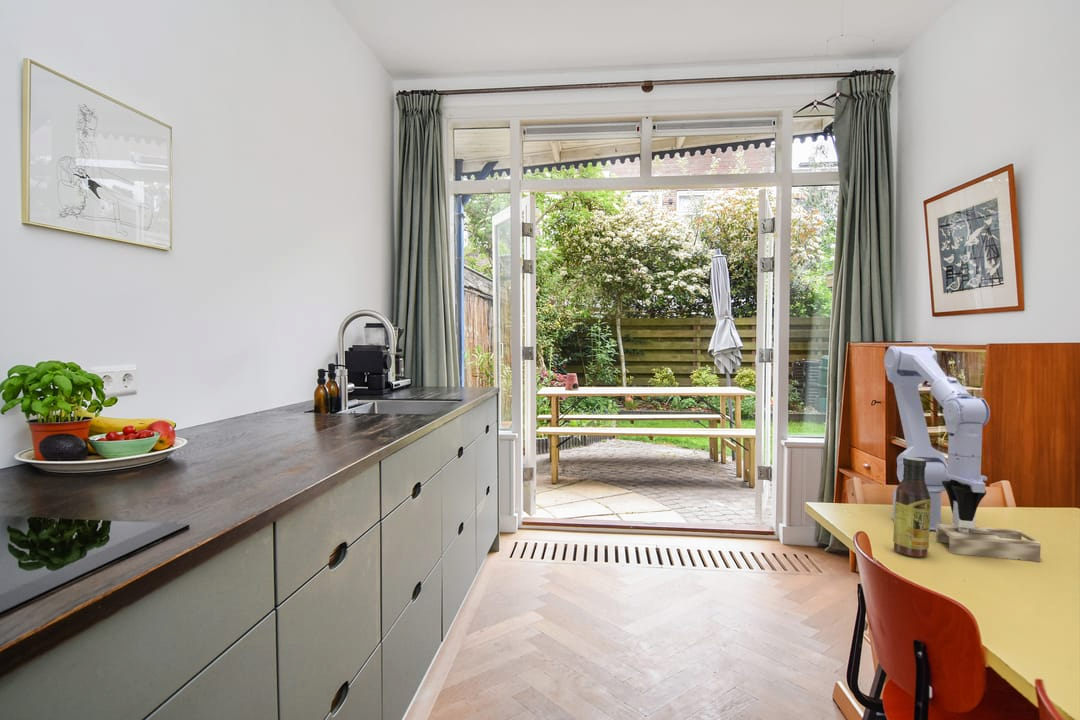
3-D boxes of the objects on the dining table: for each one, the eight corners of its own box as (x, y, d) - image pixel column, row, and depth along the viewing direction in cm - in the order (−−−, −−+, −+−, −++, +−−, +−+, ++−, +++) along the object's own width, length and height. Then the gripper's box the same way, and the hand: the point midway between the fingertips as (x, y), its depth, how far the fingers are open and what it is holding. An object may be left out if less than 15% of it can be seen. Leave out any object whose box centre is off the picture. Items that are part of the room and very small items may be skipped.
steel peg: (955, 547, 120) (956, 504, 120) (946, 540, 125) (948, 498, 124) (979, 550, 119) (981, 506, 119) (970, 542, 123) (971, 500, 123)
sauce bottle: (917, 560, 115) (920, 462, 114) (886, 550, 120) (889, 457, 120) (935, 555, 118) (938, 459, 117) (904, 545, 123) (907, 454, 123)
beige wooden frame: (951, 553, 119) (951, 535, 119) (935, 540, 127) (936, 523, 127) (1040, 561, 115) (1040, 542, 115) (1018, 547, 123) (1019, 530, 122)
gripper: (1004, 462, 113) (1001, 530, 114) (970, 449, 127) (968, 509, 128) (962, 460, 115) (960, 527, 116) (934, 447, 129) (932, 507, 129)
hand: (962, 517), depth 122 cm, fingers closed on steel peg, 3 cm apart
